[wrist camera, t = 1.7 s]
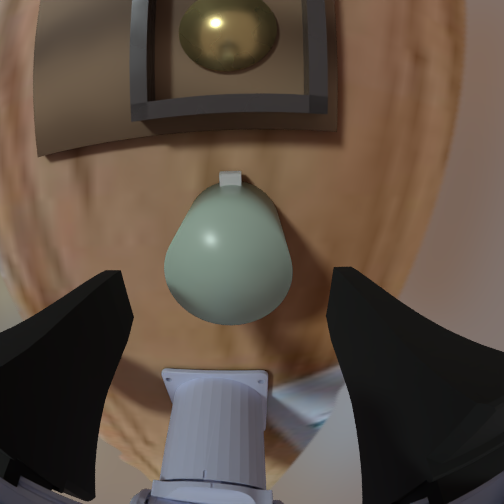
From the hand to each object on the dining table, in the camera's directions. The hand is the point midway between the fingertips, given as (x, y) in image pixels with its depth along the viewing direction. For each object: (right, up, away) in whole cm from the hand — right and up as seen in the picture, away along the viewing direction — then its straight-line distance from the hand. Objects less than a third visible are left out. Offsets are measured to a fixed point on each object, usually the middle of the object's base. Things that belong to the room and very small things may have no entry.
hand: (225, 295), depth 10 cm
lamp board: (-3, +13, +1) cm, 13 cm away
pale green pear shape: (0, +3, +6) cm, 6 cm away
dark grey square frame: (0, +12, +1) cm, 12 cm away
